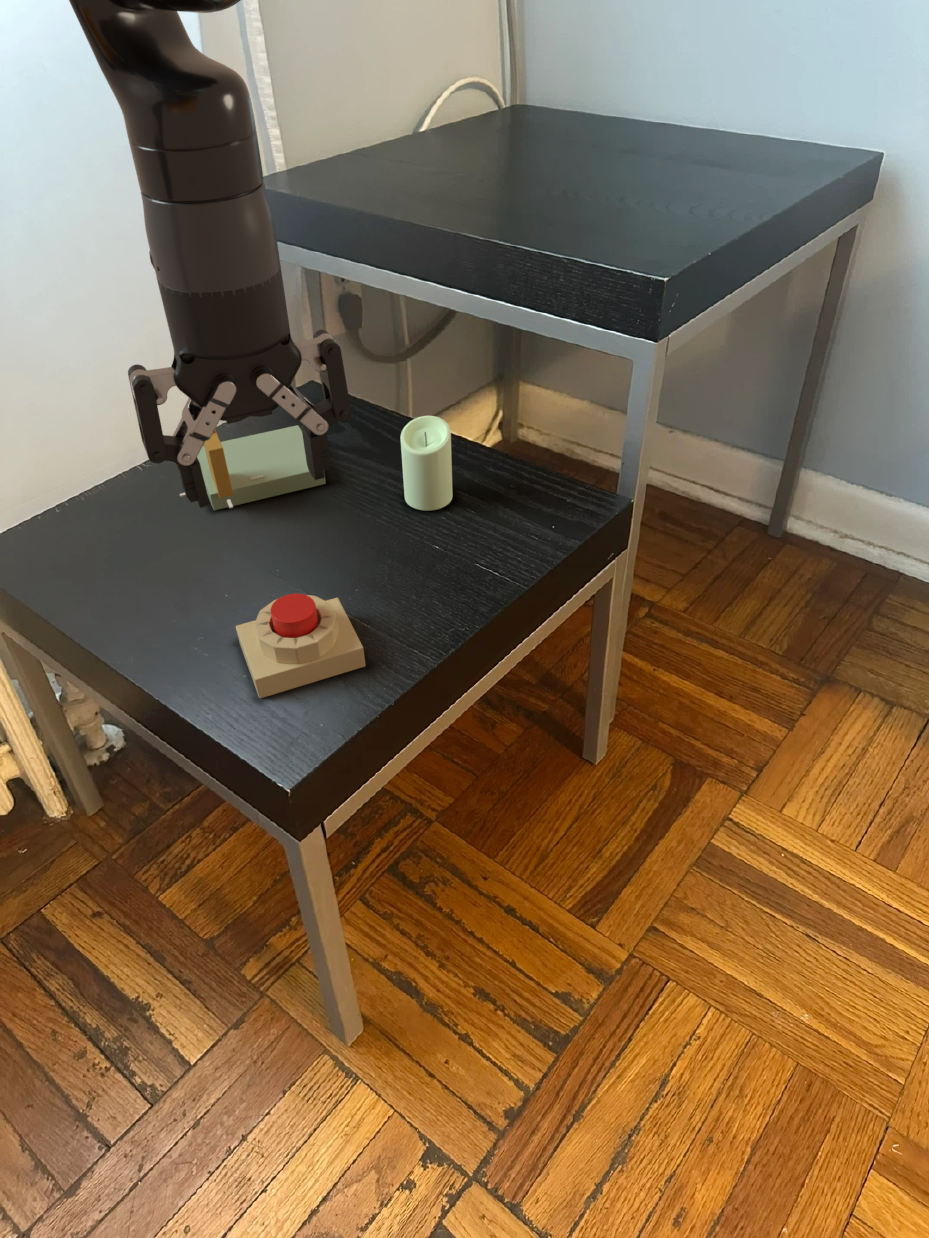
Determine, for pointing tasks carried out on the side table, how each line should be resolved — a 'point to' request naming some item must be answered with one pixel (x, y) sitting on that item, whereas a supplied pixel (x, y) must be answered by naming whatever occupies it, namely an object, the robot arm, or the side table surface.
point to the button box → (300, 649)
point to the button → (294, 615)
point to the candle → (427, 463)
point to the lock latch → (218, 466)
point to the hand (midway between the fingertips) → (260, 487)
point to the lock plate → (261, 467)
